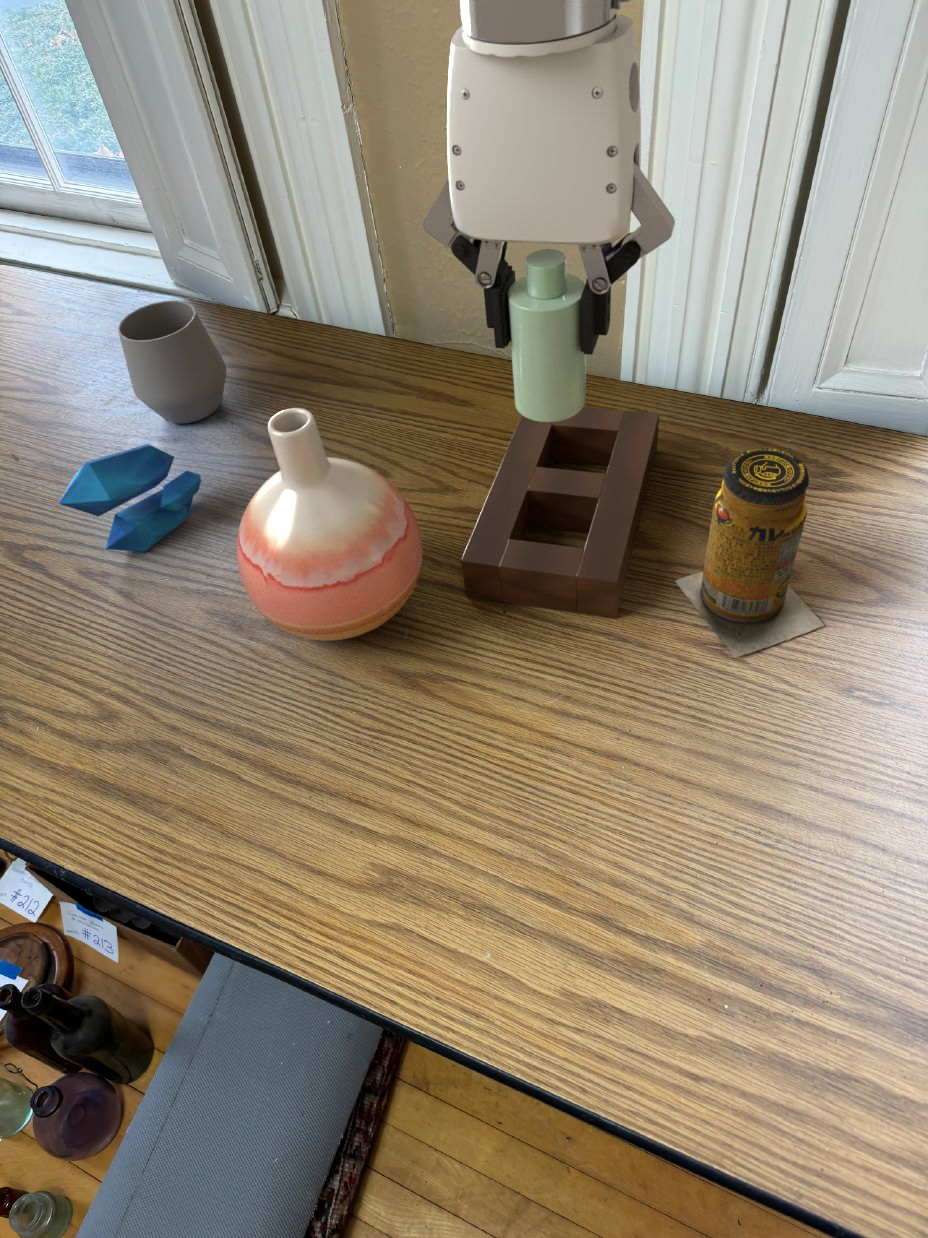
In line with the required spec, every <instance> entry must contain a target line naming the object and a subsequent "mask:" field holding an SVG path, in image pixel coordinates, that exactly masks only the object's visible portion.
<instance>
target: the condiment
mask: <svg viewBox="0 0 928 1238" xmlns="http://www.w3.org/2000/svg"><path fill="white" fill-rule="evenodd" d="M723 473H724V475H723V480H722V482H721V487H720V489H719V490H718V492H717V494H716V496H715V498H714V502H713V507H712V511H711V514H712V515H711V519H710V520H711V521H710V527H709V534H708V540H707V547H706V551H705V552H706V553H705V559H704V565H703V571H700V572H697V573H693V574H689V575H686V576H683V577H681V578H678V579H676V580H674V582H675V583H676V585H677V586H678V587H679V588H680V590H681V591H682V592H683V595H684V596H685V597H686V598H687V600H689V601H690V604H692V606H693V607H694V609H695V610H696V611H697V612H698V613H699V615H700V616H701V617H702V618H703V620H705V622H707V624H708V625H709V626H710V628H711V629H712V630H713V632H714V633H715V634H716V635H717V637H718V639H719V640H720V641H721V642H722V644H724V645H725V646H726V647H727V649H728V650H729V651H730V653H731V654H732V655H733V657H734V658H739V657H742V656H744V655H749V654H751V653H754V652H757V651H760V650H763V649H766V648H769V647H772V646H774V645H777V644H780V643H782V642H785V641H786V642H788V641H790V640H791V639H793V638H796V637H799V636H801V635H804V634H807V633H809V632H810V633H811V632H812V631H813V630H816V629H819V628H821V627H824V626H825V623H823V622H822V621H821V620H820V618H819V617H818V616H817V615H816V613H814V612H813V611H812V609H811V608H810V607H809V606H808V605H807V604H806V603H805V602H804V601H803V600H802V598H801V597H800V596H799V595H797V593H796V592H795V591H794V590H793V589H792V588H791V587H790V586H789V585H790V583H791V582H790V581H791V576H792V573H793V569H794V568H793V567H794V564H795V561H796V558H797V553H798V549H799V547H800V541H801V538H802V535H803V531H804V525H805V522H806V519H807V515H808V510H807V503H806V497H807V488H808V487H809V484H810V477H809V472H808V467H807V466H806V465H805V463H803V462H802V460H801V459H799V458H798V457H797V456H795V455H794V454H792V453H790V452H787V451H784V450H782V449H778V448H774V447H773V448H772V447H757V448H756V447H755V448H750V449H747V450H745V451H742V452H738V453H737V454H736V455H735V456H733V457H732V458H731V459H730V461H729V462H728V464H727V465H726V467H725V468H724V472H723Z"/></svg>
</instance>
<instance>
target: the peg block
mask: <svg viewBox="0 0 928 1238" xmlns="http://www.w3.org/2000/svg"><path fill="white" fill-rule="evenodd" d="M659 425H660V413H659V412H651V411H640V410H639V411H637V410H628V409H627V410H625V409H616V408H614V409H613V408H602V407H591V406H584V407H583V408H582V410H581V411H580V412H579V413H577V414H576V415H574V416H572V417H570V418H568V419H565V420H562V421H557V422H539V421H534V420H531V419H528V418H526V417H524V416H523V415H521V414H520V417H519V420H518V422H517V425H516V428H515V430H514V432H513V435H512V437H511V439H510V441H509V444H508V446H507V448H506V452H505V454H504V456H503V458H502V461H501V463H500V465H499V468H498V471H497V473H496V475H495V478H494V480H493V482H492V485H491V487H490V489H489V492H488V494H487V497H486V499H485V502H484V504H483V507H482V509H481V511H480V514H479V516H478V519H477V521H476V523H475V525H474V528H473V530H472V533H471V536H470V538H469V539H468V543H467V545H466V548H465V550H464V552H463V554H462V557H461V560H460V564H461V571H462V577H463V584H464V589H465V590H464V591H465V595H466V598H473V599H479V600H487V601H492V602H500V603H507V604H514V605H519V606H526V607H534V608H541V609H548V610H554V611H561V612H568V613H573V614H574V613H575V614H576V613H577V614H580V615H581V614H583V615H587V616H596V617H602V618H608V619H609V618H610V619H617V615H618V611H619V607H620V604H621V599H622V595H623V591H624V586H625V584H626V583H625V582H626V578H627V575H628V570H629V566H630V562H631V559H632V558H631V557H632V553H633V549H634V545H635V542H636V538H637V533H638V529H639V524H640V520H641V517H642V513H643V508H644V504H645V500H646V495H647V492H648V488H649V483H650V479H651V475H652V472H653V467H654V462H655V460H656V456H657V455H656V454H657V450H658V438H659ZM554 462H559V463H567V464H568V463H569V464H578V465H587V466H598V467H606V468H607V470H606V473H601V472H591V471H582V470H571V469H561V468H552V465H553V463H554ZM530 527H532V528H533V527H534V528H541V529H549V530H557V531H564V532H574V533H581V534H587V538H586V542H585V545H584V548H583V547H575V546H567V545H559V544H552V543H543V542H538V541H537V542H536V541H530V540H529V541H527V540H526V538H527V535H528V532H529V529H530Z"/></svg>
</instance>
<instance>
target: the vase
mask: <svg viewBox="0 0 928 1238" xmlns="http://www.w3.org/2000/svg"><path fill="white" fill-rule="evenodd" d="M267 430H268V435H269V438H270V442H271V445H272V447H273V452H274V455H275V458H276V461H277V465H278V467H279V470H278V471H277V472H275V474H273V475H271V477H269V478H268V479H267V480H266V481H265V482H264V483H263V484H262V485H260V487H259V489H257V491H256V492H255V494H254V495H253V497H252V498H251V499H250V501H249V502H248V505H247V506H246V509H245V510H244V512H243V514H242V517H241V520H240V524H239V527H238V530H237V537H236V548H235V551H236V561H237V562H236V563H237V567H238V574H239V577H240V581H241V584H242V586H243V588H244V590H245V593H246V595H247V597H248V599H249V600H250V602H251V603H252V604H253V605H254V607H255V608H256V610H257V611H258V612H259V613H260V615H262V616H263V617H264V618H265V619H266V620H267V621H269V622H270V623H271V624H272V625H274V626H276V627H277V628H279V629H281V630H282V631H284V632H286V633H289V634H292V635H293V636H298V637H299V638H303V639H309V640H312V641H313V640H314V641H323V642H324V641H325V642H327V641H329V642H330V641H331V642H332V641H341V640H347V639H352V638H355V637H359V636H362V635H364V634H367V633H368V632H369V633H370V632H371V631H373V630H376V629H377V628H379V627H380V626H382V625H384V624H385V623H386V622H388V621H389V620H391V619H392V618H393V617H394V616H395V615H396V614H397V613H398V612H399V611H400V610H401V609H402V608H403V606H404V605H405V604H406V603H407V602H408V600H409V599H410V597H411V596H412V594H413V592H414V590H415V588H416V587H417V584H418V582H419V578H420V575H421V571H422V568H423V557H424V547H423V538H422V532H421V529H420V525H419V522H418V521H417V518H416V516H415V513H414V510H413V509H412V507H411V505H410V504H409V502H408V501H407V499H406V498H405V496H404V495H403V494H402V492H401V491H400V490H399V489H398V488H397V487H396V486H395V485H394V484H393V483H392V482H391V481H389V480H388V479H387V478H386V477H385V476H384V475H382V474H380V473H379V472H378V471H376V470H374V469H372V468H371V467H368V466H366V465H364V464H361V463H359V462H356V461H352V460H349V459H345V458H339V457H330V456H329V457H328V456H327V453H326V451H325V448H324V444H323V441H322V438H321V435H320V431H319V429H318V424H317V422H316V419H315V417H314V415H313V414H312V413H311V411H309V410H307V409H305V408H301V407H292V408H287V409H283V410H281V411H279V412H277V413H276V414H274V415H273V416H272V417H271V418H270V420H269V421H268V424H267Z"/></svg>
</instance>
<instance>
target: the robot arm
mask: <svg viewBox="0 0 928 1238" xmlns="http://www.w3.org/2000/svg"><path fill="white" fill-rule="evenodd" d="M631 1H632V0H459V9H460V21H461V26H460V27H459V28H458V29H457V30H456V31H455V33H454V34H453V35H452V37H451V40H450V52H449V63H448V74H447V75H448V77H447V78H448V80H447V104H446V105H447V106H446V107H447V111H446V121H447V122H446V128H447V129H446V137H447V138H446V139H447V140H446V141H447V145H446V146H447V167H448V168H447V171H448V179H447V181H446V182H445V184H444V185H443V187H442V189H441V191H440V192H439V194H438V196H437V197H436V199H435V201H434V202H433V204H432V206H431V207H430V209H429V210H428V212H427V213H426V215H425V217H424V219H423V221H422V228H423V230H424V231H425V232H426V233H427V234H429V235H430V236H431V237H432V238H433V239H435V240H436V241H437V242H438V243H440V244H442V245H443V246H444V247H446V248H447V247H448V248H449V249H450V251H451V253H452V254H453V256H454V257H455V258H456V259H457V260H458V261H459V262H460V263H461V264H462V265H463V266H465V267H466V268H467V270H469V271H470V273H472V275H474V280H475V283H476V284H477V286H478V287H479V288H481V289H483V296H484V297H483V298H484V309H485V310H484V311H485V319H486V327H487V328H488V329H493V336H494V346H495V348H496V349H505V348H506V347H508V346H509V344H510V343H511V341H510V326H509V312H508V297H507V293H508V290H509V288H510V286H511V285H512V284H513V283H514V282H515V281H517V280H516V270H513V265H509V263H508V261H507V256H508V252H509V247H510V243H523V244H524V243H525V244H549V245H552V244H553V245H577V246H578V250H579V254H580V256H581V260H582V263H583V264H582V265H583V268H584V271H585V275H586V281H585V287H584V289H583V292H582V294H581V352H583V353H584V354H586V355H593V354H594V352H595V348H596V345H597V343H598V341H599V340H598V339H599V337H600V336H607V335H608V333H609V331H610V324H611V306H612V305H611V303H612V302H611V301H612V285H613V284H614V283H615V282H617V281H618V280H619V279H620V278H621V277H623V275H625V274H626V273H627V272H628V271H629V270H630V269H631V268H633V267H634V266H635V265H636V264H637V263H638V261H639V260H640V259H642V258H643V257H644V256H647V255H648V254H650V253H651V252H653V251H654V250H656V249H657V248H659V247H660V246H661V245H663V244H665V243H666V242H667V241H669V240H670V239H671V238H672V236H673V232H674V229H675V226H676V220H675V218H674V216H673V214H672V213H671V212H670V210H669V208H667V205H666V204H665V203H664V201H663V200H662V199H661V197H660V196H659V194H658V192H656V190H655V188H654V187H653V185H652V184H651V182H649V180H648V178H647V177H646V176H645V173H644V172H643V171H642V170H641V165H642V161H641V160H642V156H641V155H642V114H641V112H642V111H641V110H642V109H641V85H640V84H641V83H640V68H639V58H638V48H637V47H638V46H637V40H636V32H635V27H634V26H635V25H634V21H633V19H632V18H631V17H629V16H627V15H623V14H618V10H620V9H621V8H622V6H623V4H624V3H630V2H631ZM631 213H632V214H633V215H634V217H635V218H636V220H637V221H638V222H639V224H640V226H638V227H637V228H636V229H635V230H634V231H631V232H628V233H626V232H627V229H628V225H629V217H630V214H631ZM625 233H626V234H625ZM619 239H620V240H619ZM617 240H619V241H618V242H617V243H616V244H615V243H614V242H615V241H617Z"/></svg>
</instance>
